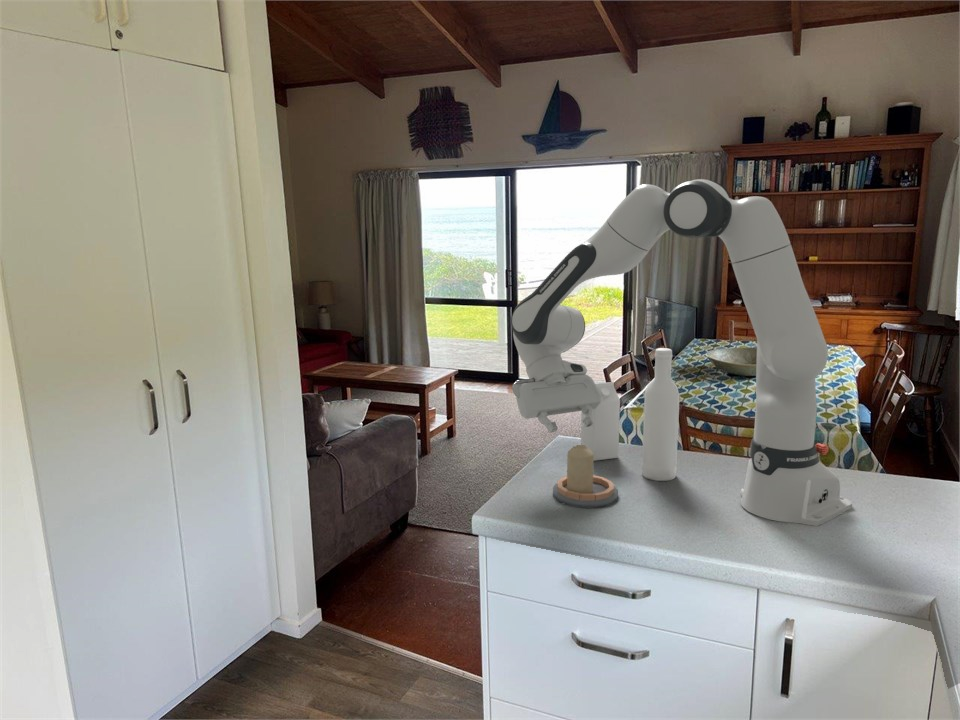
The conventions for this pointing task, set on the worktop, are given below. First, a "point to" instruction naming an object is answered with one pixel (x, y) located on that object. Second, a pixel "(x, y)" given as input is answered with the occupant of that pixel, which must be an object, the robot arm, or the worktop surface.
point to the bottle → (661, 421)
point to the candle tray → (587, 494)
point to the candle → (580, 469)
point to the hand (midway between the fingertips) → (571, 428)
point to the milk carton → (603, 425)
